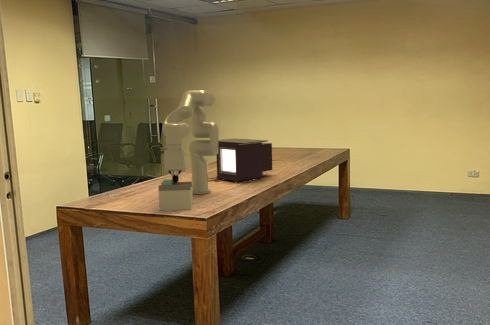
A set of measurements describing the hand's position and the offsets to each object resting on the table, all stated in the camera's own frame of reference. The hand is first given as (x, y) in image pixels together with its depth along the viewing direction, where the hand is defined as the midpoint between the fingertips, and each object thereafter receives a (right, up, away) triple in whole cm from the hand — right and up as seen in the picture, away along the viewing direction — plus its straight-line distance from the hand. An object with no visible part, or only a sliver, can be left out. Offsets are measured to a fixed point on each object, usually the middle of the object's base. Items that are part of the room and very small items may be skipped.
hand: (175, 182), depth 237 cm
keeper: (-4, 0, 0) cm, 4 cm away
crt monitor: (+36, -1, +87) cm, 94 cm away
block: (0, -13, +2) cm, 13 cm away
